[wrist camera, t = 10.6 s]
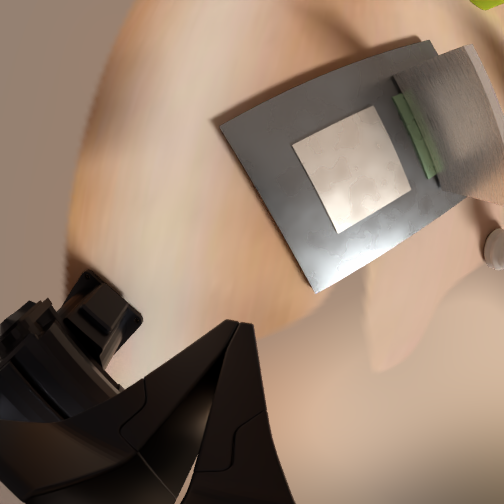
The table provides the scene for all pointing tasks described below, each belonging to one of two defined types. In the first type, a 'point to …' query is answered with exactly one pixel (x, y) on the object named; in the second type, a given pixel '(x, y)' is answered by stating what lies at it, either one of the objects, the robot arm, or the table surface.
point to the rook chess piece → (495, 249)
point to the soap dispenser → (487, 3)
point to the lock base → (343, 164)
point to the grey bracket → (459, 122)
